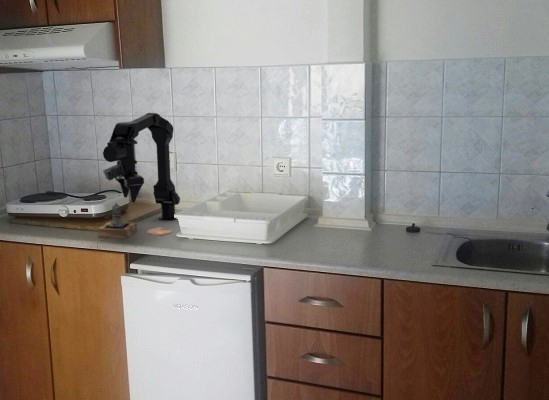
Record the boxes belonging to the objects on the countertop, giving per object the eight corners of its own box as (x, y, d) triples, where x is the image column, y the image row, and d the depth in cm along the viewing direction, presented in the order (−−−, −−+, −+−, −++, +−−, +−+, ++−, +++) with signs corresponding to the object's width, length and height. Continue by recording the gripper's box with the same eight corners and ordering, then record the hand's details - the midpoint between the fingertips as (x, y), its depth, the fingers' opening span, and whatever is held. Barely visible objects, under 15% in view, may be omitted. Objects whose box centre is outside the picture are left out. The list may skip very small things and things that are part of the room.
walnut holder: (109, 229, 238) (109, 221, 237) (136, 230, 236) (136, 222, 236) (97, 237, 227) (97, 229, 226) (126, 238, 226) (126, 230, 225)
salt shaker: (123, 235, 229) (121, 204, 226) (107, 235, 229) (105, 204, 226) (127, 231, 234) (125, 200, 232) (112, 231, 235) (110, 200, 232)
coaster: (152, 228, 238) (151, 227, 238) (174, 229, 237) (174, 227, 237) (144, 234, 230) (144, 233, 230) (167, 235, 229) (167, 234, 228)
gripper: (97, 156, 227) (100, 197, 230) (112, 163, 211) (114, 207, 214) (127, 153, 232) (129, 194, 236) (143, 160, 216) (145, 203, 220)
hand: (129, 199), depth 226 cm, fingers open, 9 cm apart
